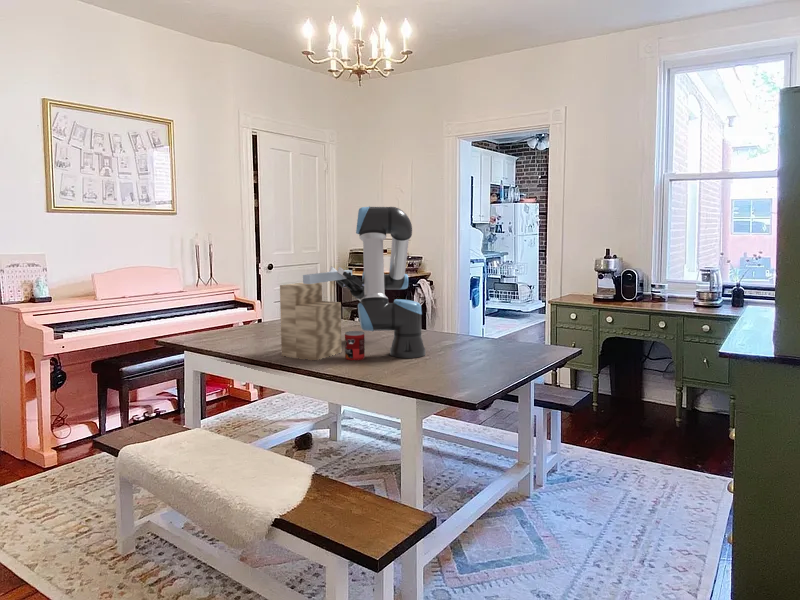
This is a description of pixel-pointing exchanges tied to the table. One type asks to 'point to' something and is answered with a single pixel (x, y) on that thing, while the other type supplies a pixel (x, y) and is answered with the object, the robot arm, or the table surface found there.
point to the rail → (323, 277)
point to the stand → (309, 322)
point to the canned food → (354, 345)
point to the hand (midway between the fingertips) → (334, 269)
